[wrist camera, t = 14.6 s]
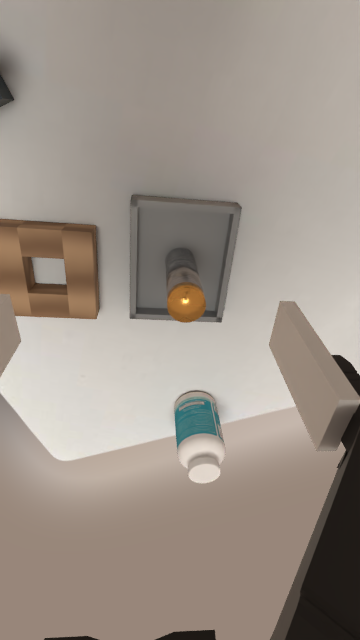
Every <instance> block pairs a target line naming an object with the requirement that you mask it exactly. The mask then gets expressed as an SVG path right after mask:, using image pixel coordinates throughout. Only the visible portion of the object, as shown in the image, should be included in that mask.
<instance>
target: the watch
mask: <svg viewBox="0 0 360 640" xmlns="http://www.w3.org/2000/svg"><path fill="white" fill-rule="evenodd" d="M13 100H14V99H13V97H12V95H11V93H10V91H9V89H8V88H7V86H6V84H5V82H4V80H3V78H2V77H1V75H0V107H1V106H3V105H5V104H7V103H9V102H11V101H13Z"/></svg>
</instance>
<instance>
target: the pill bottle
mask: <svg viewBox="0 0 360 640" xmlns="http://www.w3.org/2000/svg"><path fill="white" fill-rule="evenodd" d="M174 412H175V426H176V439H177V454H178V459H179V461H180V463H181V464H182V465H183V466H184V467H186V468H187V469H188V475H189V478H190V479H191V480H192V481H194V482H197V483H208V482H211V481H214V480H215V479H217V478H218V477H219V475H220V465H219V464H220V463H221V462H222V461H223V459H224V457H225V445H224V441H223V436H222V431H221V427H220V421H219V416H218V412H217V407H216V403H215V401H214V399H213V398H212V397H211V396H210V395H208V394H206V393H203V392H190V393H187V394H185V395H183V396H181V397H180V398H179V399H178V400H177V402H176V404H175V408H174Z"/></svg>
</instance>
